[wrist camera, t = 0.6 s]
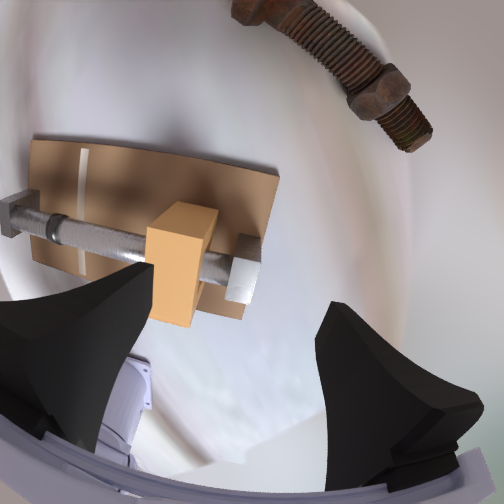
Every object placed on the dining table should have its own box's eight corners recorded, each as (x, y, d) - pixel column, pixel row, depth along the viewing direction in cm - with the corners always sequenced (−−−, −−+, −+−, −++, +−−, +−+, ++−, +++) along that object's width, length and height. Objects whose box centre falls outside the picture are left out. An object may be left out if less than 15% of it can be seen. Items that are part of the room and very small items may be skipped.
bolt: (388, 143, 19) (250, 15, 15) (434, 112, 16) (291, -27, 11) (395, 178, 16) (216, 13, 11) (456, 139, 12) (268, -45, 8)
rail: (260, 234, 20) (261, 263, 16) (251, 270, 22) (249, 306, 17) (33, 187, 19) (-3, 201, 15) (33, 216, 20) (0, 235, 16)
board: (279, 176, 19) (279, 177, 18) (241, 315, 23) (241, 320, 23) (34, 139, 17) (30, 140, 17) (36, 257, 22) (32, 260, 21)
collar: (218, 209, 19) (203, 239, 14) (205, 282, 21) (189, 328, 16) (177, 201, 19) (147, 226, 13) (168, 272, 21) (142, 315, 16)
